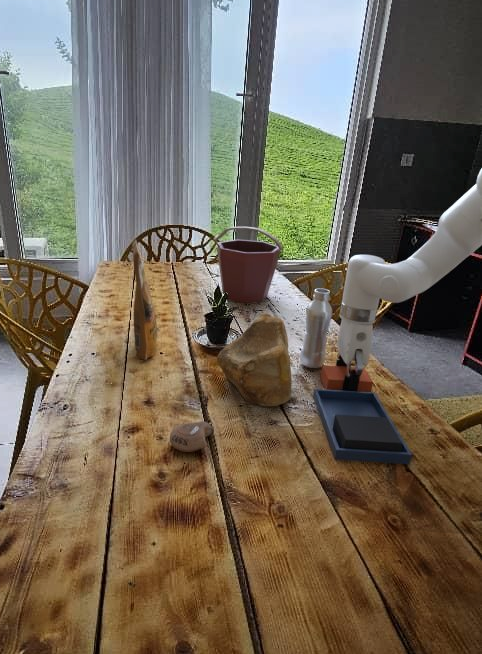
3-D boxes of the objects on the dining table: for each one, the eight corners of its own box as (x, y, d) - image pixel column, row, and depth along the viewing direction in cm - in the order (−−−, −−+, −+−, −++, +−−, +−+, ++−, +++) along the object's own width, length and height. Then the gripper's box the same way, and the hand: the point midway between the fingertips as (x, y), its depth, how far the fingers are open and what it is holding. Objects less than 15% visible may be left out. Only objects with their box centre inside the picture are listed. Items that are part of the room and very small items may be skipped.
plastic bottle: (299, 369, 111) (309, 293, 104) (298, 358, 117) (307, 285, 110) (325, 372, 110) (337, 296, 103) (323, 360, 116) (334, 287, 109)
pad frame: (372, 402, 98) (374, 392, 97) (409, 466, 78) (412, 454, 78) (312, 398, 99) (314, 388, 98) (334, 461, 79) (336, 449, 78)
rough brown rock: (219, 362, 115) (217, 308, 109) (284, 362, 113) (286, 307, 107) (214, 415, 94) (211, 352, 88) (293, 416, 92) (296, 351, 86)
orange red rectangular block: (361, 380, 107) (364, 367, 106) (370, 395, 101) (373, 381, 99) (320, 377, 108) (322, 365, 106) (326, 392, 101) (328, 379, 100)
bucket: (200, 295, 163) (203, 226, 154) (231, 282, 180) (236, 219, 171) (259, 310, 150) (266, 236, 141) (287, 295, 167) (295, 228, 158)
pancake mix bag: (127, 363, 111) (124, 252, 100) (135, 333, 128) (133, 236, 118) (154, 363, 111) (154, 253, 101) (158, 333, 129) (158, 237, 118)
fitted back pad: (383, 432, 87) (387, 417, 85) (398, 459, 79) (402, 443, 78) (332, 429, 87) (335, 414, 86) (342, 455, 80) (345, 439, 78)
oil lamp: (219, 459, 80) (210, 432, 87) (223, 440, 78) (214, 415, 85) (170, 457, 78) (165, 430, 85) (173, 438, 76) (168, 412, 83)
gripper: (389, 328, 89) (372, 404, 96) (364, 300, 105) (351, 366, 112) (351, 326, 89) (337, 402, 96) (332, 298, 105) (321, 365, 112)
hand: (345, 382), depth 104 cm, fingers closed on orange red rectangular block, 7 cm apart
